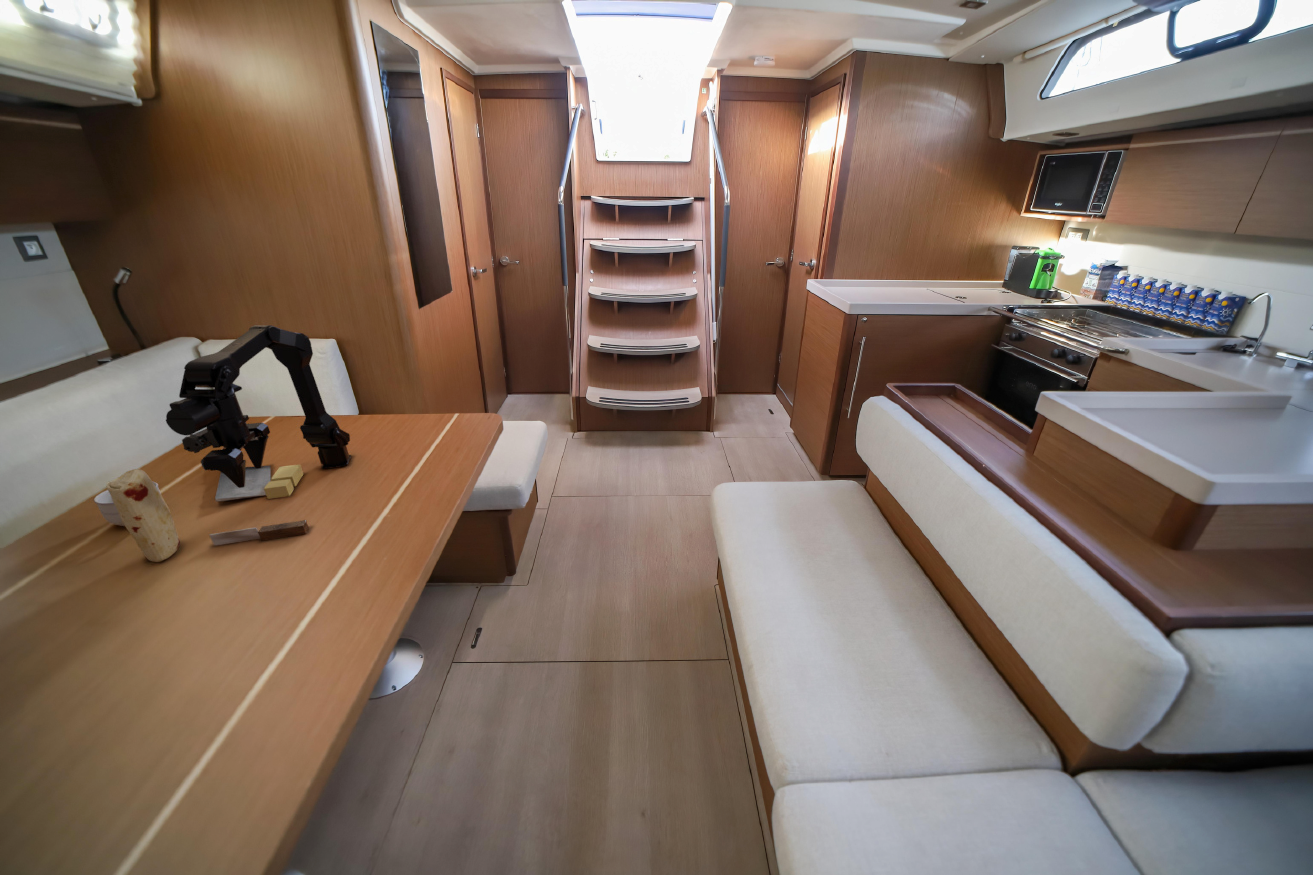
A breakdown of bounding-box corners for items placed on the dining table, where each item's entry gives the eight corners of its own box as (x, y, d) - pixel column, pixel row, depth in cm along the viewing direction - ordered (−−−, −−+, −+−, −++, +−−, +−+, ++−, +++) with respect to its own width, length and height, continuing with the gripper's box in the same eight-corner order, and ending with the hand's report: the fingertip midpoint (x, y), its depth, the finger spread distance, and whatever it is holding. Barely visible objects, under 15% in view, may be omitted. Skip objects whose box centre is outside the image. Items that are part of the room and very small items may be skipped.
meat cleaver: (271, 494, 132) (266, 481, 131) (217, 508, 126) (211, 494, 125) (269, 447, 157) (265, 436, 155) (224, 457, 151) (219, 445, 149)
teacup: (108, 518, 122) (92, 491, 118) (167, 501, 129) (153, 474, 126) (112, 543, 113) (95, 514, 110) (175, 523, 121) (161, 495, 117)
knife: (309, 528, 119) (305, 517, 118) (305, 533, 117) (302, 523, 116) (216, 542, 114) (211, 531, 113) (212, 548, 112) (206, 537, 111)
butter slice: (294, 489, 135) (290, 478, 133) (289, 496, 132) (285, 485, 130) (272, 491, 133) (268, 481, 132) (267, 499, 130) (263, 488, 129)
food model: (179, 560, 108) (138, 482, 100) (139, 570, 106) (92, 490, 97) (190, 536, 116) (152, 461, 107) (153, 545, 113) (110, 468, 104)
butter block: (303, 473, 142) (300, 464, 140) (295, 486, 136) (292, 476, 134) (283, 476, 141) (279, 466, 139) (274, 489, 135) (270, 479, 133)
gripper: (204, 404, 116) (228, 463, 123) (156, 437, 100) (187, 503, 106) (259, 399, 119) (280, 457, 125) (222, 431, 103) (248, 496, 109)
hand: (250, 477), depth 117 cm, fingers open, 9 cm apart
